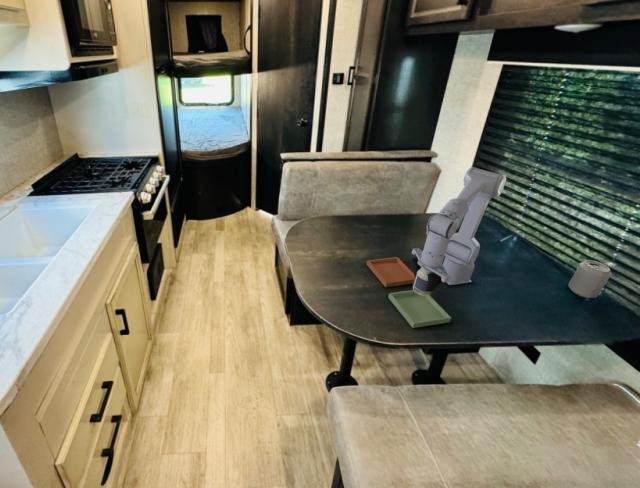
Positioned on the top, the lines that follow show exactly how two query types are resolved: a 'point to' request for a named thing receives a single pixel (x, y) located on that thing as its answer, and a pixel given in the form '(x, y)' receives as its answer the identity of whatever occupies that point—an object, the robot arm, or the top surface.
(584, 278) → the beige cylinder
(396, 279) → the terracotta tray
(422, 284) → the pill bottle
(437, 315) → the sage tray
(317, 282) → the top surface
